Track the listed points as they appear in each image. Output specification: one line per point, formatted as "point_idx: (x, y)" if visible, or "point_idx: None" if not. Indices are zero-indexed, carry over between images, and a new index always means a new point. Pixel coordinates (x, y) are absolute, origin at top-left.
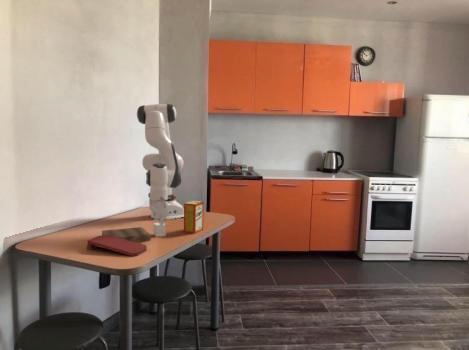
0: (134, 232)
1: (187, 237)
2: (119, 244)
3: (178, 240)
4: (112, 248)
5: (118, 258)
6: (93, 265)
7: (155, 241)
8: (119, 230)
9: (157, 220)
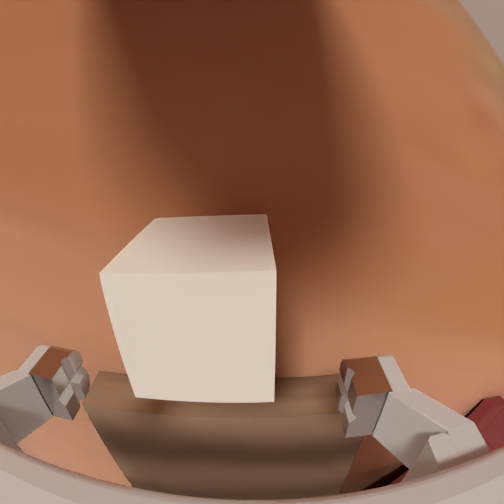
0: (253, 473)
1: (412, 30)
2: None
3: (472, 159)
4: None
5: None
6: None
7: (404, 344)
8: None
9: (74, 354)
